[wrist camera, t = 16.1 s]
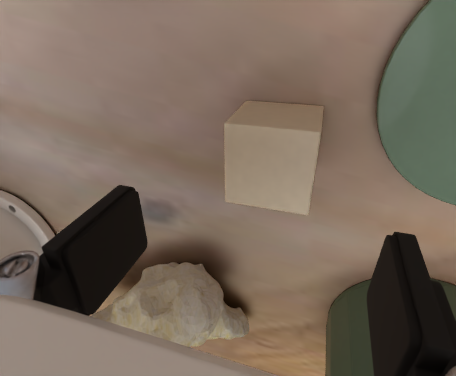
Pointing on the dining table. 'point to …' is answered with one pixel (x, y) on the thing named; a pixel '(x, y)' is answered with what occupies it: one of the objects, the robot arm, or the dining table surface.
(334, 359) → the basket
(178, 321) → the cheese
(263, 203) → the block
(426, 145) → the basket lid
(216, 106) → the dining table surface
